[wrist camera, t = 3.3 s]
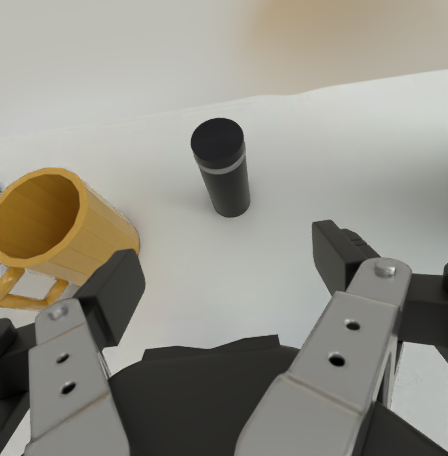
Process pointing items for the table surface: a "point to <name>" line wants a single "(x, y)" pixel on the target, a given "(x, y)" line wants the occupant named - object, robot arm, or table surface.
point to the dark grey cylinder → (223, 164)
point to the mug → (56, 233)
